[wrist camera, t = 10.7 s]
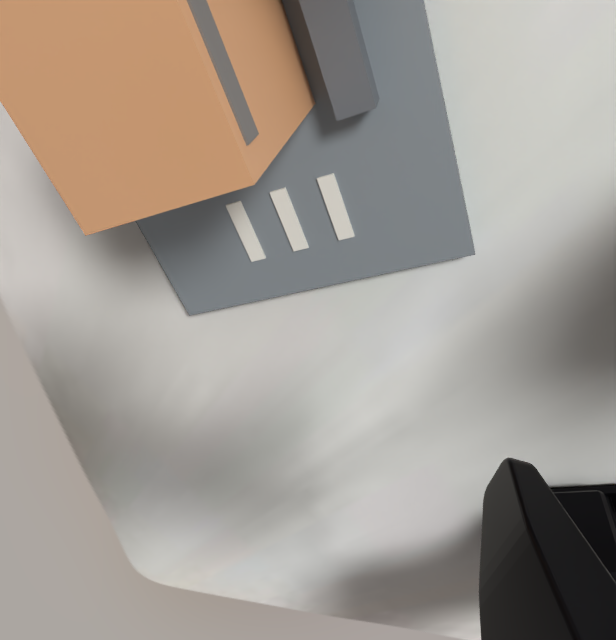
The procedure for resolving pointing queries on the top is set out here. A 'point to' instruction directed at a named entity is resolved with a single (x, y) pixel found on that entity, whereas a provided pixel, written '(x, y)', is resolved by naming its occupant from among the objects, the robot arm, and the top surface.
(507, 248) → the top surface
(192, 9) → the block
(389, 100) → the flat gray board
